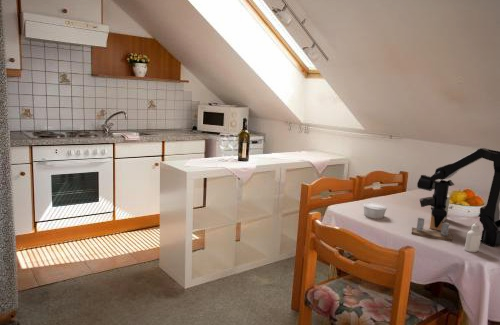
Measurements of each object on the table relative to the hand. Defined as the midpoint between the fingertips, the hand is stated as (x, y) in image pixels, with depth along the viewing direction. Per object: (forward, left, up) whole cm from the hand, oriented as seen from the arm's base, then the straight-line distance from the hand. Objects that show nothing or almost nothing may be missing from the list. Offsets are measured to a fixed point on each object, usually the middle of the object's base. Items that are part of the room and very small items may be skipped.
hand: (435, 225), depth 190 cm
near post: (-11, +7, -1) cm, 13 cm away
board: (-7, +11, -1) cm, 13 cm away
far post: (-4, +14, -1) cm, 15 cm away
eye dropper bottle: (-26, +8, -1) cm, 27 cm away
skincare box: (+10, -14, -1) cm, 17 cm away
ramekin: (+22, +18, -1) cm, 28 cm away
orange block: (0, 0, -1) cm, 1 cm away
